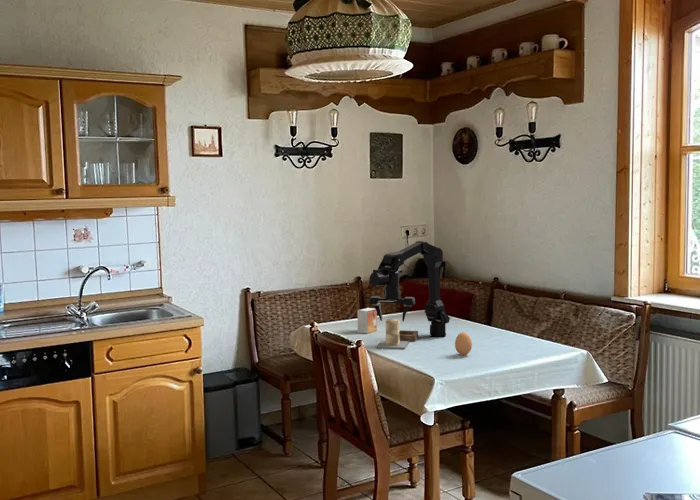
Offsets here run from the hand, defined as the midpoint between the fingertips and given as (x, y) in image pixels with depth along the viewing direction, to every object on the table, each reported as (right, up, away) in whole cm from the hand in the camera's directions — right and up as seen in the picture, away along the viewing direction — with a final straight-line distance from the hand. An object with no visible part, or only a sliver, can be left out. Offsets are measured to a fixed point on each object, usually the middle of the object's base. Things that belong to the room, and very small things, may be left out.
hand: (392, 321), depth 299 cm
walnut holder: (+6, -9, +15) cm, 19 cm away
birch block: (0, -10, +1) cm, 10 cm away
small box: (-10, -8, +31) cm, 33 cm away
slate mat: (0, -10, +1) cm, 11 cm away
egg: (+27, -12, -17) cm, 34 cm away
